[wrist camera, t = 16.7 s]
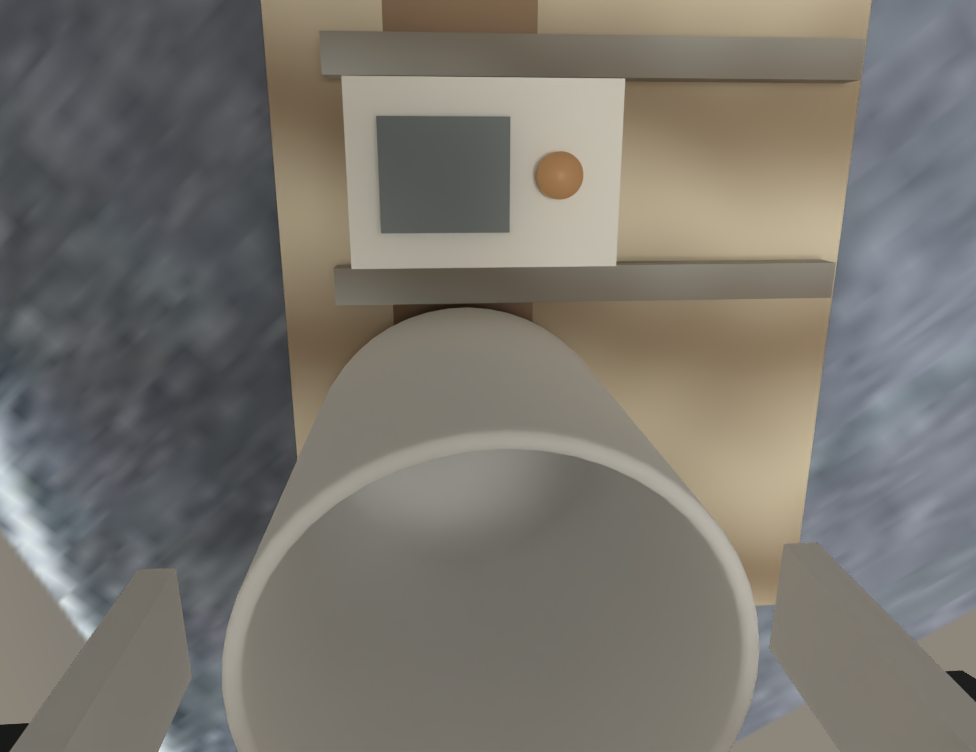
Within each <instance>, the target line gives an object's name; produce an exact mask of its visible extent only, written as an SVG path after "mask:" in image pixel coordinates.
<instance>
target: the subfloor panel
mask: <svg viewBox="0 0 976 752" xmlns="http://www.w3.org/2000/svg"><path fill="white" fill-rule="evenodd" d="M871 3H872V0H261V9H262V22H263V34H264V47H265V59H266V72H267V84H268V97H269V109H270V122H271V134H272V147H273V160H274V172H275V185H276V197H277V210H278V222H279V235H280V247H281V260H282V272H283V285H284V298H285V310H286V323H287V335H288V348H289V360H290V373H291V385H292V398H293V410H294V423H295V436H296V448H297V460H298V457H299V455H300V453H301V450H302V448H303V446H304V444H305V441H306V439H307V437H308V435H309V432H310V430H311V428H312V426H313V423H314V421H315V419H316V417H317V414H318V412H319V410H320V408H321V406H322V404H323V401H324V399H325V397H326V395H327V393H328V391H329V389H330V387H331V386H332V384H333V383H334V381H335V380H336V378H337V377H338V375H339V374H340V372H341V371H342V369H343V368H344V366H345V365H346V364H347V363H348V362H349V361H350V360H351V358H352V357H353V356H354V355H355V354H356V353H357V352H358V351H359V350H360V349H361V348H362V347H364V346H365V345H366V344H367V343H368V342H369V341H370V340H372V339H373V338H374V337H376V336H377V335H379V334H380V333H382V332H384V331H385V330H387V329H388V328H390V327H392V326H394V325H396V324H398V323H400V322H402V321H404V320H406V319H409V318H412V317H415V316H418V315H421V314H424V313H427V312H432V311H437V310H443V309H449V308H466V307H470V308H483V309H491V310H496V311H501V312H506V313H510V314H512V315H515V316H518V317H521V318H524V319H527V320H529V321H531V322H533V323H535V324H537V325H539V326H541V327H543V328H545V329H546V330H547V331H549V332H550V333H552V334H553V335H555V336H556V337H558V338H559V339H560V340H562V341H563V342H564V343H565V344H566V345H567V346H568V347H570V348H571V349H572V350H573V351H574V352H575V353H576V354H577V355H578V356H579V357H580V358H581V359H582V360H583V361H584V362H585V364H586V365H587V366H588V367H589V368H590V370H591V371H592V372H593V373H594V374H595V376H596V377H597V378H598V379H599V380H600V382H601V383H602V384H603V385H604V387H605V388H606V389H607V390H608V391H609V393H610V394H611V395H612V396H613V397H614V399H615V400H616V401H617V402H618V403H619V405H620V406H621V407H622V408H623V410H624V411H625V412H626V413H627V414H628V416H629V417H630V418H631V419H632V420H633V422H634V423H635V424H636V425H637V426H638V428H639V429H640V430H641V431H642V432H643V434H644V435H645V436H646V437H647V439H648V440H649V441H650V442H651V443H652V445H653V446H654V447H655V448H656V449H657V451H658V452H659V453H660V454H661V455H662V457H663V458H664V459H665V460H666V461H667V463H668V464H669V465H670V466H671V468H672V469H673V470H674V471H675V472H676V474H677V475H678V476H679V477H680V478H681V480H682V481H683V482H684V483H685V484H686V486H687V487H688V488H689V489H690V491H691V492H692V493H693V494H694V495H695V497H696V498H697V499H698V500H699V501H700V503H701V504H702V505H703V506H704V507H705V509H706V510H707V511H708V512H709V513H710V515H711V516H712V517H713V518H714V520H715V521H716V522H717V523H718V524H719V526H720V527H721V528H722V529H723V531H724V532H725V534H726V536H727V537H728V539H729V541H730V542H731V544H732V546H733V547H734V549H735V551H736V552H737V554H738V556H739V558H740V560H741V563H742V565H743V568H744V570H745V573H746V575H747V578H748V580H749V583H750V586H751V590H752V595H753V599H754V603H755V606H759V605H775V603H776V596H777V588H778V581H779V574H780V567H781V560H782V553H783V546H784V544H790V543H799V541H800V534H801V526H802V519H803V511H804V504H805V496H806V489H807V481H808V474H809V466H810V459H811V451H812V444H813V436H814V429H815V421H816V414H817V406H818V399H819V391H820V384H821V376H822V369H823V361H824V354H825V347H826V339H827V332H828V324H829V317H830V309H831V302H832V294H833V287H834V279H835V272H836V264H837V257H838V249H839V242H840V234H841V227H842V219H843V212H844V204H845V197H846V189H847V182H848V175H849V167H850V160H851V152H852V145H853V137H854V130H855V122H856V115H857V107H858V100H859V92H860V85H861V77H862V70H863V62H864V55H865V47H866V40H867V32H868V25H869V17H870V10H871ZM341 76H426V77H525V78H625V96H624V116H623V137H622V157H621V177H620V198H619V218H618V239H617V259H616V266H583V267H495V268H407V269H351V250H350V231H349V212H348V193H347V174H346V155H345V137H344V118H343V99H342V80H341Z"/></svg>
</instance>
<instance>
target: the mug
mask: <svg viewBox="0 0 976 752" xmlns="http://www.w3.org/2000/svg"><path fill="white" fill-rule="evenodd" d="M758 657H759V635H758V622H757V612H756V607H755V603H754V599H753V595H752V590H751V586H750V583H749V580H748V578H747V575H746V573H745V570H744V568H743V565H742V563H741V560H740V558H739V556H738V554H737V552H736V551H735V549H734V547H733V546H732V544H731V542H730V541H729V539H728V537H727V536H726V534H725V532H724V531H723V529H722V528H721V527H720V526H719V524H718V523H717V522H716V521H715V520H714V518H713V517H712V516H711V515H710V513H709V512H708V511H707V510H706V509H705V507H704V506H703V505H702V504H701V503H700V501H699V500H698V499H697V498H696V497H695V495H694V494H693V493H692V492H691V491H690V489H689V488H688V487H687V486H686V484H685V483H684V482H683V481H682V480H681V478H680V477H679V476H678V475H677V474H676V472H675V471H674V470H673V469H672V468H671V466H670V465H669V464H668V463H667V461H666V460H665V459H664V458H663V457H662V455H661V454H660V453H659V452H658V451H657V449H656V448H655V447H654V446H653V445H652V443H651V442H650V441H649V440H648V439H647V437H646V436H645V435H644V434H643V432H642V431H641V430H640V429H639V428H638V426H637V425H636V424H635V423H634V422H633V420H632V419H631V418H630V417H629V416H628V414H627V413H626V412H625V411H624V410H623V408H622V407H621V406H620V405H619V403H618V402H617V401H616V400H615V399H614V397H613V396H612V395H611V394H610V393H609V391H608V390H607V389H606V388H605V387H604V385H603V384H602V383H601V382H600V380H599V379H598V378H597V377H596V376H595V374H594V373H593V372H592V371H591V370H590V368H589V367H588V366H587V365H586V364H585V362H584V361H583V360H582V359H581V358H580V357H579V356H578V355H577V354H576V353H575V352H574V351H573V350H572V349H571V348H570V347H568V346H567V345H566V344H565V343H564V342H563V341H562V340H560V339H559V338H558V337H556V336H555V335H553V334H552V333H550V332H549V331H547V330H546V329H545V328H543V327H541V326H539V325H537V324H535V323H533V322H531V321H529V320H527V319H524V318H521V317H518V316H515V315H512V314H510V313H506V312H501V311H496V310H491V309H483V308H470V307H466V308H449V309H443V310H437V311H432V312H427V313H424V314H421V315H418V316H415V317H412V318H409V319H406V320H404V321H402V322H400V323H398V324H396V325H394V326H392V327H390V328H388V329H387V330H385V331H384V332H382V333H380V334H379V335H377V336H376V337H374V338H373V339H372V340H370V341H369V342H368V343H367V344H366V345H365V346H364V347H362V348H361V349H360V350H359V351H358V352H357V353H356V354H355V355H354V356H353V357H352V358H351V360H350V361H349V362H348V363H347V364H346V365H345V366H344V368H343V369H342V371H341V372H340V374H339V375H338V377H337V378H336V380H335V381H334V383H333V384H332V386H331V387H330V389H329V391H328V393H327V395H326V397H325V399H324V401H323V404H322V406H321V408H320V410H319V412H318V414H317V417H316V419H315V421H314V423H313V426H312V428H311V430H310V432H309V435H308V437H307V439H306V441H305V444H304V446H303V448H302V450H301V453H300V455H299V457H298V460H297V462H296V464H295V466H294V469H293V471H292V473H291V475H290V478H289V480H288V482H287V484H286V487H285V489H284V491H283V493H282V496H281V498H280V500H279V502H278V505H277V507H276V509H275V511H274V514H273V516H272V518H271V521H270V523H269V525H268V527H267V530H266V532H265V534H264V536H263V539H262V541H261V543H260V545H259V548H258V550H257V552H256V554H255V557H254V559H253V561H252V563H251V566H250V568H249V570H248V572H247V575H246V577H245V579H244V582H243V584H242V586H241V588H240V591H239V593H238V595H237V597H236V600H235V603H234V607H233V610H232V613H231V616H230V620H229V623H228V626H227V629H226V636H225V643H224V650H223V657H222V693H223V699H224V705H225V710H226V716H227V721H228V726H229V729H230V732H231V735H232V737H233V740H234V743H235V746H236V749H237V752H730V750H731V748H732V746H733V744H734V742H735V740H736V739H737V737H738V735H739V733H740V731H741V728H742V726H743V723H744V720H745V718H746V715H747V712H748V710H749V707H750V704H751V701H752V696H753V692H754V687H755V683H756V678H757V671H758Z"/></svg>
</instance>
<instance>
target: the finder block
mask: <svg viewBox="0 0 976 752" xmlns="http://www.w3.org/2000/svg"><path fill="white" fill-rule="evenodd" d="M341 80H342V99H343V118H344V137H345V155H346V174H347V193H348V212H349V231H350V250H351V269H407V268H495V267H583V266H616V259H617V239H618V218H619V198H620V177H621V157H622V137H623V116H624V96H625V78H525V77H426V76H341Z"/></svg>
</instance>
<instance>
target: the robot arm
mask: <svg viewBox="0 0 976 752" xmlns="http://www.w3.org/2000/svg"><path fill="white" fill-rule="evenodd" d="M769 649H770V650H771V652H772V653H773V655H774V656H775V658H776V659H777V661H778V662H779V663H780V665H781V666H782V668H783V669H784V671H785V672H786V674H787V675H788V677H789V678H790V680H791V681H792V682H793V684H794V685H795V687H796V688H797V690H798V691H799V693H800V694H801V696H802V697H803V699H804V700H805V701H806V703H807V704H808V706H809V707H810V709H811V710H812V711H813V713H814V715H815V716H816V717H817V719H818V720H819V722H820V723H821V725H822V726H823V727H824V729H825V731H826V732H827V734H828V735H829V736H830V738H831V739H832V741H833V742H834V744H835V745H836V747H837V748H838V750H839V751H840V752H976V679H975V678H974V677H972V676H970V675H969V674H967V673H965V672H964V671H944V670H943V669H942V668H941V667H940V666H939V665H938V664H937V663H936V662H935V661H934V660H933V659H932V658H931V657H930V656H929V655H928V654H927V653H926V652H925V651H924V650H923V649H922V648H921V647H920V646H919V645H918V644H917V643H916V642H915V641H914V640H913V639H912V638H911V637H910V636H909V635H908V634H907V633H906V632H905V631H904V629H903V628H902V627H901V626H900V625H899V624H898V623H897V622H896V621H895V620H894V619H893V618H892V617H891V616H890V615H889V614H888V613H887V612H886V611H885V610H884V609H883V608H882V607H881V606H880V605H879V604H878V603H877V602H876V601H875V600H874V599H873V598H872V597H871V596H870V595H869V594H868V593H867V592H866V591H865V590H864V589H863V588H862V587H861V586H860V585H859V584H858V583H857V582H856V581H855V580H854V579H853V578H852V577H851V576H850V575H849V574H848V573H847V572H846V571H845V570H844V569H843V568H842V567H841V566H840V565H839V564H838V563H837V562H836V561H835V560H834V559H833V558H832V557H831V556H830V555H829V554H828V553H827V552H826V551H825V550H824V549H823V548H822V547H821V546H820V545H819V544H818V543H817V542H816V543H790V544H784V546H783V553H782V560H781V567H780V574H779V581H778V588H777V596H776V603H775V610H774V617H773V624H772V631H771V639H770V646H769ZM191 678H192V675H191V668H190V661H189V655H188V648H187V641H186V634H185V627H184V620H183V614H182V607H181V600H180V593H179V586H178V579H177V573H176V568H162V569H138V570H137V571H136V573H135V574H134V576H133V577H132V579H131V580H130V581H129V583H128V584H127V586H126V587H125V589H124V590H123V591H122V593H121V594H120V596H119V597H118V598H117V600H116V601H115V603H114V604H113V606H112V607H111V608H110V610H109V611H108V613H107V614H106V615H105V617H104V618H103V620H102V621H101V623H100V624H99V625H98V627H97V628H96V630H95V631H94V633H93V634H92V635H91V637H90V638H89V640H88V641H87V642H86V644H85V645H84V647H83V648H82V650H81V651H80V652H79V654H78V655H77V657H76V658H75V660H74V661H73V662H72V664H71V665H70V667H69V668H68V670H67V671H66V672H65V674H64V675H63V677H62V678H61V679H60V681H59V682H58V684H57V685H56V687H55V688H54V689H53V691H52V692H51V694H50V695H49V696H48V698H47V699H46V701H45V702H44V703H43V705H42V707H41V708H40V709H39V711H38V712H37V713H36V715H35V716H34V718H33V719H32V721H31V722H30V723H23V724H5V725H0V752H158V751H159V749H160V746H161V744H162V742H163V740H164V738H165V735H166V733H167V731H168V729H169V727H170V724H171V722H172V720H173V718H174V716H175V713H176V711H177V709H178V707H179V705H180V703H181V700H182V698H183V696H184V694H185V692H186V689H187V687H188V685H189V683H190V681H191Z"/></svg>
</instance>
